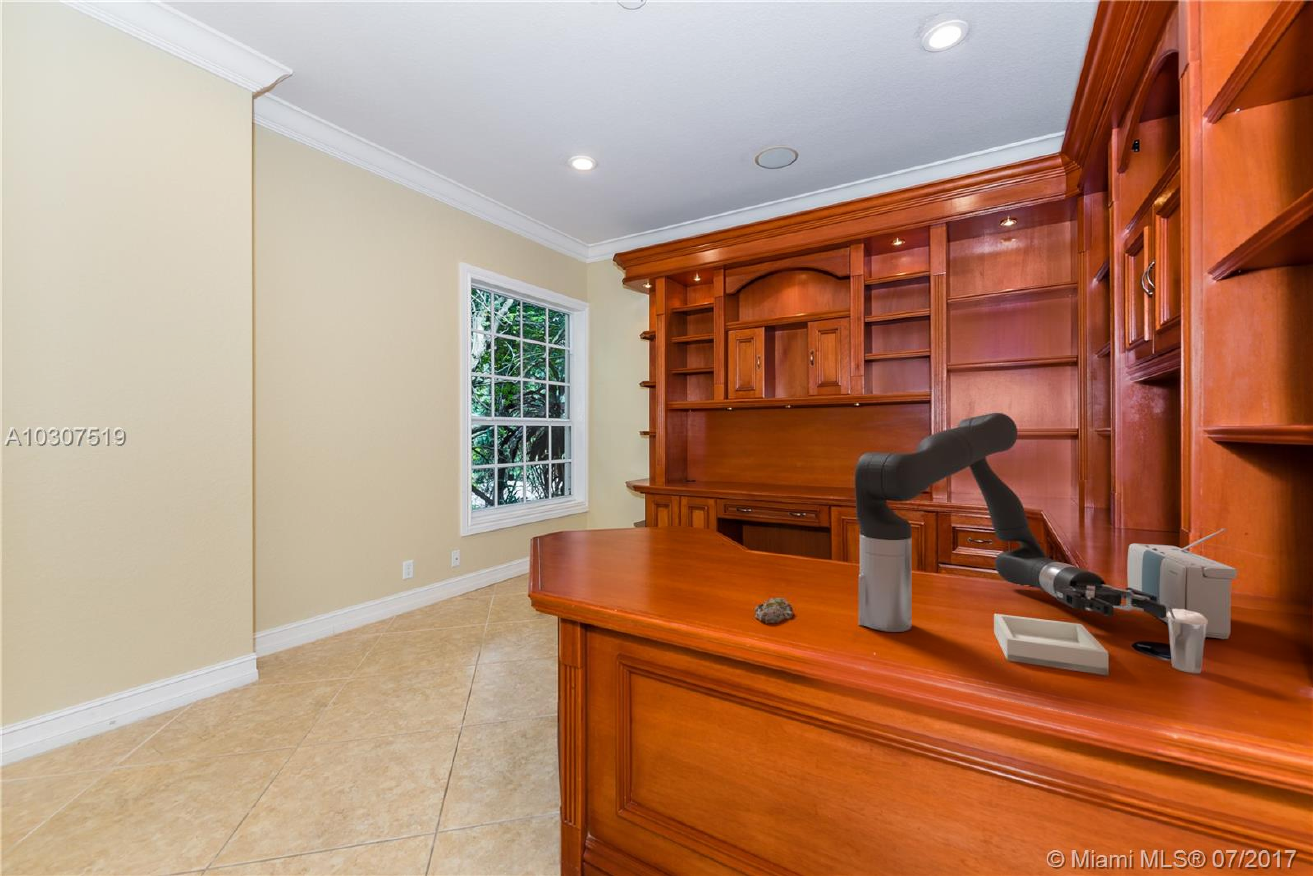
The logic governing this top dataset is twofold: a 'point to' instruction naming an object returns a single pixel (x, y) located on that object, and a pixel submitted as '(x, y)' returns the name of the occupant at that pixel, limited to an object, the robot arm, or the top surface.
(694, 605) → the top surface
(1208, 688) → the top surface
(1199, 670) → the milkshake
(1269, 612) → the top surface
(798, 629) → the top surface
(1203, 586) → the stereo radio cassette player
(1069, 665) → the tray
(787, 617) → the mineral rock
